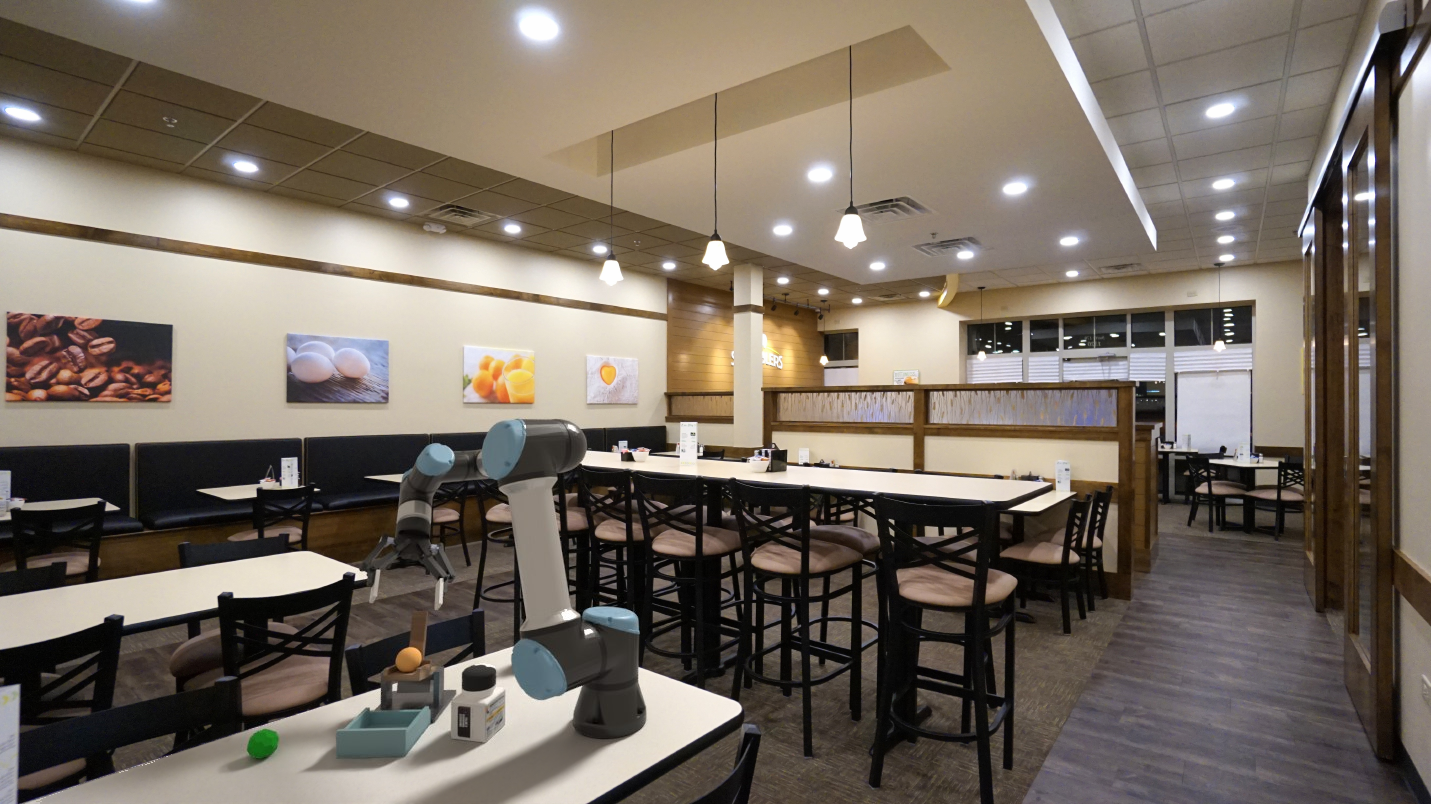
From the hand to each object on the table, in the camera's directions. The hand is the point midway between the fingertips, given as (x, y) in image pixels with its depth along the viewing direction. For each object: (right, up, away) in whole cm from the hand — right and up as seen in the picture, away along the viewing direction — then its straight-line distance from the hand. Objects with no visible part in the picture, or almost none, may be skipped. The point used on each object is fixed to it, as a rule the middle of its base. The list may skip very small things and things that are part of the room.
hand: (406, 603), depth 143 cm
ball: (+2, -11, -3) cm, 12 cm away
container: (+19, -23, -10) cm, 32 cm away
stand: (+1, -23, 0) cm, 23 cm away
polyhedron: (-18, -23, -20) cm, 35 cm away
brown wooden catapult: (+2, -19, -2) cm, 19 cm away
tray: (+2, -23, -14) cm, 27 cm away
